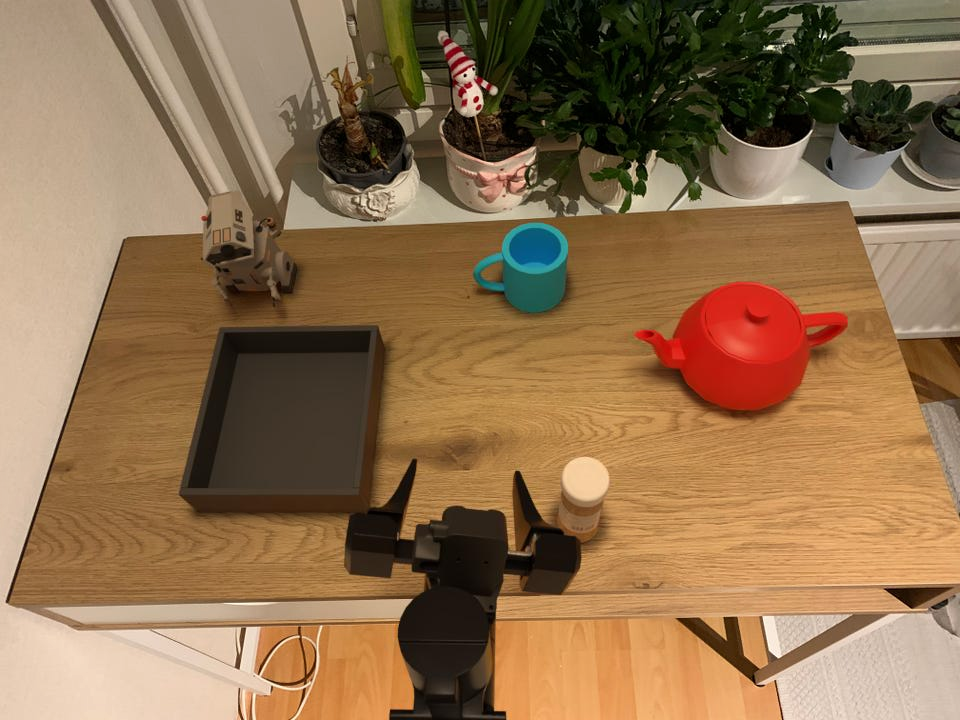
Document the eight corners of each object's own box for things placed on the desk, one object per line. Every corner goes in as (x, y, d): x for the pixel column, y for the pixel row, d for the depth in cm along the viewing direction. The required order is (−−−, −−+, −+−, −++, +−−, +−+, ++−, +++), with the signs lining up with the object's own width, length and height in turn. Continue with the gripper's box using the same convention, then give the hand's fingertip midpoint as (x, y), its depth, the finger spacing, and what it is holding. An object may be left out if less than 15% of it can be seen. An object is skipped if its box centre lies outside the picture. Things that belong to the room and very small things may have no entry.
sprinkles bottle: (601, 509, 80) (614, 460, 69) (594, 548, 78) (606, 505, 66) (560, 499, 81) (566, 450, 69) (552, 538, 79) (557, 494, 67)
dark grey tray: (368, 512, 81) (359, 494, 76) (198, 512, 82) (178, 494, 78) (385, 349, 92) (378, 324, 88) (235, 350, 93) (219, 326, 89)
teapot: (804, 301, 93) (840, 239, 82) (849, 408, 85) (895, 354, 74) (611, 324, 93) (622, 264, 82) (638, 434, 84) (654, 383, 74)
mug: (560, 260, 98) (562, 219, 91) (569, 309, 94) (573, 270, 87) (472, 269, 98) (468, 229, 91) (477, 319, 94) (474, 281, 87)
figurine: (218, 328, 95) (171, 255, 83) (237, 259, 101) (196, 182, 89) (286, 328, 95) (249, 255, 82) (301, 259, 101) (268, 181, 88)
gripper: (609, 613, 49) (592, 427, 60) (333, 586, 47) (365, 398, 58) (568, 667, 58) (559, 496, 68) (331, 646, 56) (359, 473, 66)
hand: (465, 466), depth 65 cm, fingers open, 9 cm apart
